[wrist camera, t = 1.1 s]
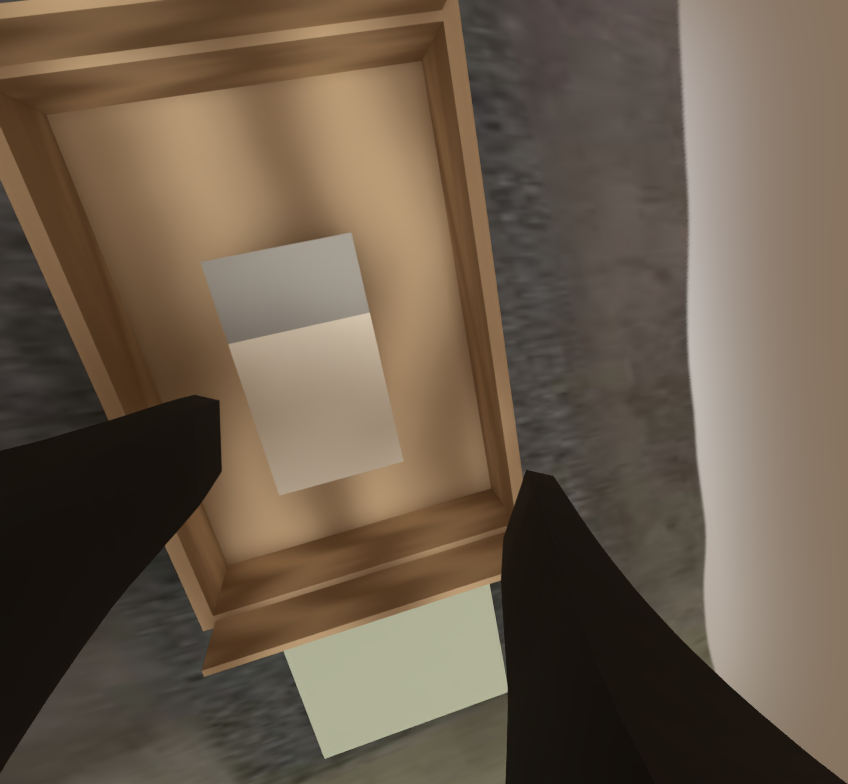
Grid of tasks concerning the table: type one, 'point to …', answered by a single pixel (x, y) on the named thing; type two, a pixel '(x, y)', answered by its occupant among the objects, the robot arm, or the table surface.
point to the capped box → (307, 359)
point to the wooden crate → (263, 229)
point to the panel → (400, 670)
